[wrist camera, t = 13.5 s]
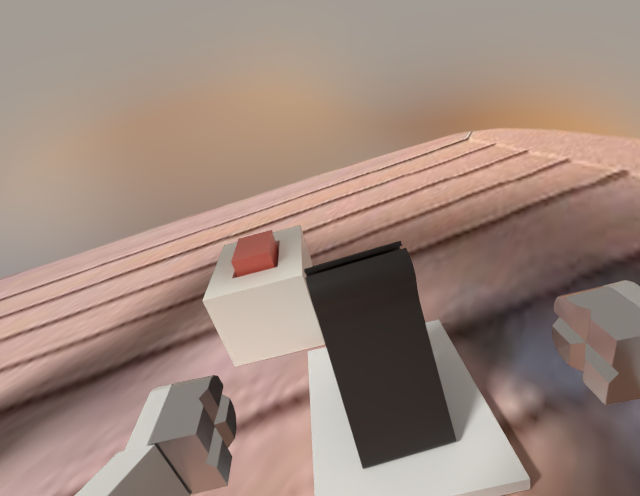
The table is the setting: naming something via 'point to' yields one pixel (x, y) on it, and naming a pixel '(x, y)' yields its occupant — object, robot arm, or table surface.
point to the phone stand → (381, 353)
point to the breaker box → (265, 304)
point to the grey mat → (424, 467)
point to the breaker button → (255, 254)
